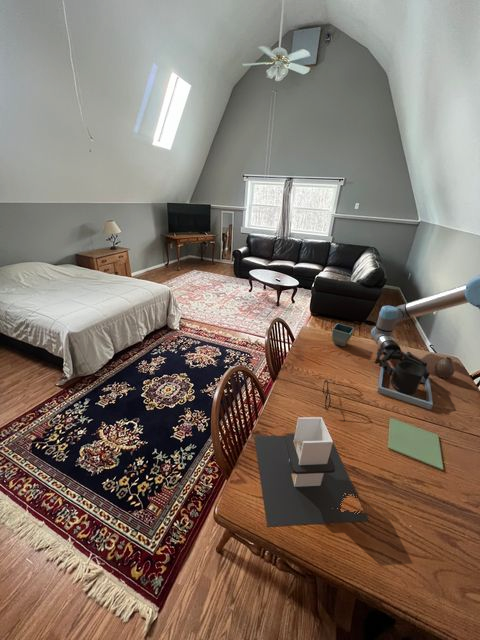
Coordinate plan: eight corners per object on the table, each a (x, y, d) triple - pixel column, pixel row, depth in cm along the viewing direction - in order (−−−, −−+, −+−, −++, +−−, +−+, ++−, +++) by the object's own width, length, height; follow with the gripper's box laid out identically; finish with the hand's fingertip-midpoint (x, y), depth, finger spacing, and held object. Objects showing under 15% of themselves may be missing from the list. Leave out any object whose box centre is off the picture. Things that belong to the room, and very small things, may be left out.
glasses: (322, 387, 107) (325, 377, 104) (360, 396, 105) (364, 386, 103) (325, 413, 94) (330, 402, 92) (369, 424, 92) (374, 413, 90)
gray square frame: (427, 383, 112) (429, 378, 111) (430, 410, 98) (433, 404, 96) (380, 369, 120) (381, 364, 118) (376, 392, 105) (378, 387, 104)
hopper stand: (254, 436, 83) (257, 395, 76) (329, 434, 85) (339, 394, 78) (267, 526, 61) (274, 480, 54) (369, 520, 63) (388, 475, 56)
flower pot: (328, 344, 138) (332, 328, 134) (334, 337, 145) (337, 322, 141) (346, 349, 134) (350, 334, 130) (350, 342, 140) (354, 327, 136)
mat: (437, 436, 87) (438, 434, 86) (442, 470, 76) (443, 469, 75) (389, 418, 93) (390, 417, 92) (387, 448, 81) (388, 447, 81)
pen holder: (387, 378, 114) (394, 358, 109) (412, 382, 112) (420, 363, 107) (392, 392, 105) (400, 371, 101) (419, 397, 103) (428, 376, 99)
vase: (449, 382, 113) (458, 365, 109) (430, 375, 117) (438, 358, 113) (452, 375, 118) (460, 358, 114) (433, 368, 122) (440, 352, 118)
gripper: (414, 356, 124) (439, 385, 105) (359, 351, 127) (373, 378, 108) (419, 342, 121) (446, 370, 102) (362, 337, 124) (378, 363, 104)
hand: (409, 374), depth 105 cm, fingers open, 13 cm apart
